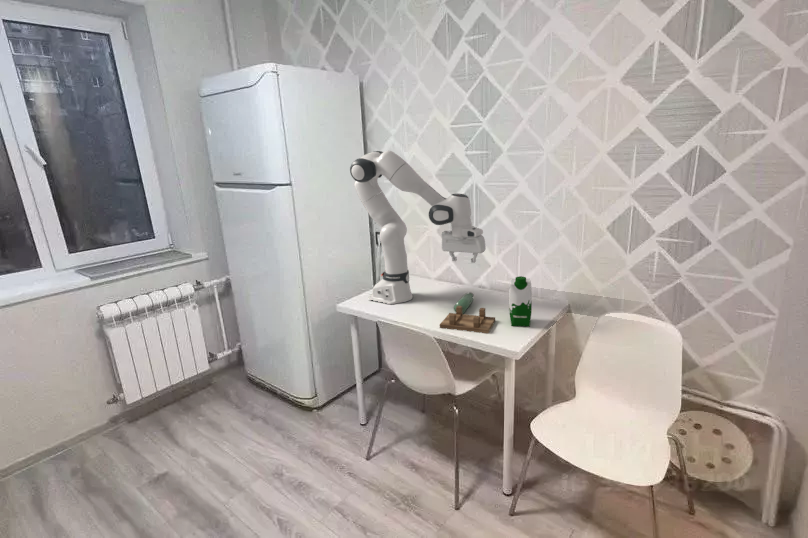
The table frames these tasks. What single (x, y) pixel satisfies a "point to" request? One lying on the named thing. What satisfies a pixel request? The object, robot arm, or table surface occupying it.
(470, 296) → the bottle
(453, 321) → the cradle
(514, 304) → the milk carton
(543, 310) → the table surface
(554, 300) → the table surface
